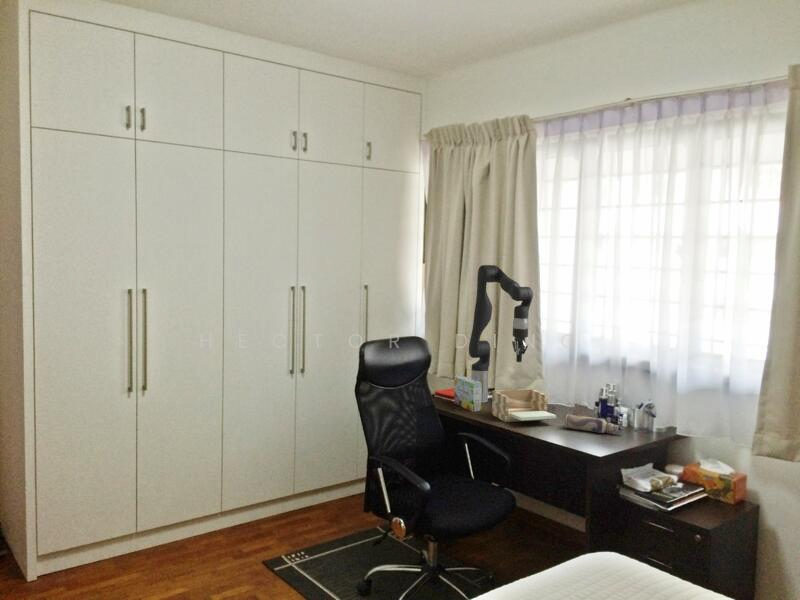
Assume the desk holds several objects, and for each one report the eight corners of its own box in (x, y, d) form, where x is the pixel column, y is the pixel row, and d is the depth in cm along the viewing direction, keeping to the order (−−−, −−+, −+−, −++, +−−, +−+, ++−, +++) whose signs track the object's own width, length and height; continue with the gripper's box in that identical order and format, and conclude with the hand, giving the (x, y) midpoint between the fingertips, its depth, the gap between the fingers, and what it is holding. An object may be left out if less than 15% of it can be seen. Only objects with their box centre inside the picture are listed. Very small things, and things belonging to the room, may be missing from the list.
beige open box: (491, 414, 338) (492, 390, 337) (531, 412, 344) (532, 388, 343) (505, 421, 322) (506, 397, 322) (546, 419, 329) (547, 395, 328)
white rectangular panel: (509, 412, 322) (520, 417, 311) (543, 410, 328) (556, 415, 316) (509, 416, 322) (520, 421, 311) (543, 414, 328) (556, 419, 316)
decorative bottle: (563, 429, 310) (563, 415, 310) (567, 426, 317) (568, 412, 316) (620, 437, 297) (621, 422, 297) (624, 434, 304) (624, 419, 303)
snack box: (453, 403, 361) (453, 375, 360) (462, 402, 363) (462, 375, 363) (472, 412, 342) (473, 383, 341) (482, 411, 344) (482, 382, 343)
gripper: (507, 325, 336) (506, 359, 338) (519, 329, 324) (518, 364, 325) (521, 325, 338) (519, 359, 340) (533, 329, 326) (532, 364, 327)
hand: (518, 361), depth 333 cm, fingers closed
